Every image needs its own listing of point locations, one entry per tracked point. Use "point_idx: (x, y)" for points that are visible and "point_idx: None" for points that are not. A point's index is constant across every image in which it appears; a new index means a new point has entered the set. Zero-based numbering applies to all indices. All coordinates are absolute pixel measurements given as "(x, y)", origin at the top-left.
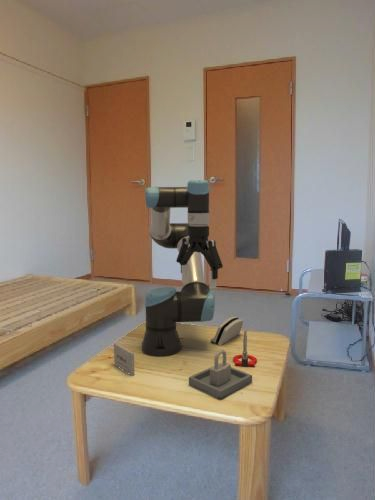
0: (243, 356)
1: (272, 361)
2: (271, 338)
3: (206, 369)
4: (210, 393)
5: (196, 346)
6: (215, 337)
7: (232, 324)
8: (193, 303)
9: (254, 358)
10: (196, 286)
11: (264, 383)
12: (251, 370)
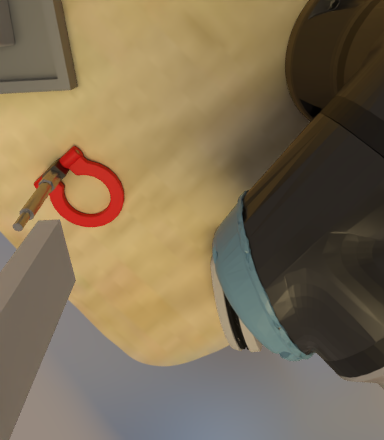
0: (49, 173)
1: None
2: (158, 344)
3: (52, 3)
4: None
5: None
6: None
7: (217, 300)
8: (292, 192)
9: (72, 217)
10: (374, 315)
11: None
12: (23, 158)
